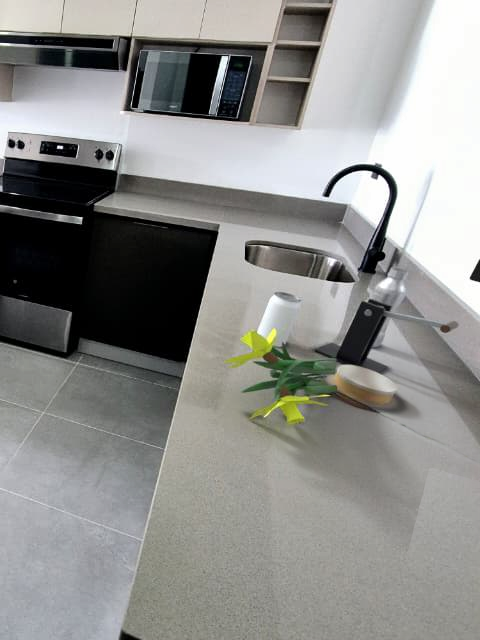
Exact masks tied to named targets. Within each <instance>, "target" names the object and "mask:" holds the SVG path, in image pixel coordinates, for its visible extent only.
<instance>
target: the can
mask: <svg viewBox="0 0 480 640" xmlns="http://www.w3.org/2000/svg"><path fill="white" fill-rule="evenodd" d="M273 293H274V294H273V295H272V296H271V297H270V298H269V301H268V303H267V306H266V307H265V311H264V313H263V316H262V319H261V321H260V323H259V326H258V328H257V331H256V333H258V334H260V335H261V336H263V337H264V338H265V339H266V340H267V338H268V337H269V335H270V333H271V332H272V330H273V329H274V328H275V330H276V335H275V337H274V338H273V340H274V339H275V338H276V337H277V336H278V335H279V334H280V333H281V332H282V331H283V332H282V333H281V334H280V336H279V337H278V338H277V340H276V341H275V343H274V345H273V347H278V348H280V347H281V348H282V342H283V343H284V344H285V345H286V343H287V341H288V339H289V336H290V334H291V332H292V329H293V327H294V325H295V322H296V320H297V317H298V316H299V313H300V310H301V307H302V306H301V305H302V304H301V302H302V299H301V298H300V297H298V296H297V295H294V294H291V293H288V292H283V291H275V292H273ZM291 318H292V319H291ZM290 319H291V320H290ZM288 322H289V323H288ZM287 323H288V324H287ZM285 327H286V328H285ZM273 340H272V341H273Z"/></svg>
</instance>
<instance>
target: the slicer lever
mask: <svg viewBox="0 0 480 640" xmlns="http://www.w3.org/2000/svg"><path fill="white" fill-rule="evenodd" d="M377 306H378V305H377ZM380 307H383V306H380ZM383 308H384V307H383ZM382 316H386V317H390V318H391V319H396V320H399V321H404V322H410V323H415V324H420V325H424V326H427V327H429V326H430V327H434V328H438V329H439V330H440V332H442V333H443V334H447V333H450V332H452V331H453V330H456V329H457V328H458V327H459V322H458V321H455V320H451V321H448V322H444V321H438V320H432V319H428V318H423V317H419V316H415V315H414V316H413V315H408V314H404V313H399V312H389V311H384V313H383V315H382Z"/></svg>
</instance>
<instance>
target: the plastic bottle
mask: <svg viewBox="0 0 480 640" xmlns="http://www.w3.org/2000/svg"><path fill="white" fill-rule="evenodd" d="M409 273H410V272H409V270H406V269H403V268H399V267H394V266H393V267H390V269H389V271H388V273H387V274H386V276H387V277H385V278H383V279H381V280H380V281H378V282H377V283H376V284H375V285H374V287H373V290H372V292H371V296H370V299H373V300H376V301H379V302H382V303H385V304H388V305H391V306H392V308H391V311H390V312H394V313H396V310H397V308H398V307H399V306H400V305H401V303H402V302H403V300H404V298H405V297H406V295H407V289H406V285H405V282H404V281H407V279H408V276H409ZM391 319H392V318H390V317H387V319H386V321H385V323H384V325H383V327H382V329H381V331H380V333H379V335H378V337H377V339H376V341H375V343H374V345H373V347H372V349H373V348H377V347H380V346H381V344H382V343H383V342H384V339H385V336H386V331H387V328H388V326H389V323H390V322H391Z"/></svg>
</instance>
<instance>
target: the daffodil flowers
mask: <svg viewBox="0 0 480 640" xmlns="http://www.w3.org/2000/svg"><path fill="white" fill-rule="evenodd" d="M291 319H292V318H291ZM291 319H290V320H291ZM288 323H289V322H288ZM288 323H287V324H288ZM285 328H286V327H285ZM282 332H283V331H282ZM282 332H281V333H282ZM281 333H280V334H281ZM280 334H279V335H278V336H277V337H276V338H275V339H274V340H273V338H274V337H275V335H276V330H275V328H274V329H273V330H272V332H271V333H270V335H269V337H268V338H267V340H266V339H265V338H264V337H263V336H261V335H260V334H258V333H257V331H256V330H255V329H254V328H251V329H250V331H247V333H245V334H244V335H243V336H242V337H241V338H240V339H239V340H240V342H242V343H244V344H245V345H246V346H248V347H249V348H251V349H252V350H253V351H251V352H248V353H245V354H241V355H239V356H235V357H232V358H228V359H226V360H224V361H222V363H228V364H233V365H232V366H229V367H228V368H226V369H225V371H227V370H230V369H234V368H239V367H241V366H243V365H244V364H246V363H248V362H249V361H252V360H253V361H252V363H253V364H256V365H258V366H261V367H263V368H265V369H269V375H270V377H271V378H272V380H265V381H261V382H258V383H256V384H252V385H251V386H249V387H247V388H245V389H243V390H242V391H240V393H242V394H245V393H246V394H247V393H252V392H258V391H263V390H270V389H274V392H273V400H275V401H274V402H273V403H272V404H270V405H268V406H265V407H263V408H260V409H259V410H256V411H255V412H253V414H252V415H251V417H249V420H251V419H254V418H256V417H258V416H262V415H263V414H265V413H266V414H265V415H264V416H263V418H265V417H267V416H268V415H270V413H271V412H272V411H273V410H275V409H277V408H280V410H281V411H282V413H283V415H284V416H285V417H286V424H287V425H291V426H292V425H296V424H302V423H303V422H305V421H306V419H305V417H304V416H303V415H302V413H301V412H300V411H299V406H298V405H305V404H310V405H313V404H314V405H315V404H316V405H320V406H327V407H328V406H329V404H326V403H323V402H320V401H316V400H311V399H310V398H321V397H330V396H332V397H333V396H334V395H332V394H331V392H338V388H337V386H336V385H334V384H328V383H327V382H326V381H325V380H321V379H327V378H328V376H327V375H334V376H335V374H336V372H337V368H338V364H337V363H338V362H337V361H336V360H337V359H335V358H328V357H320V358H309V359H297V358H294V357H292V356H290V354H289V352H288V349H287V347H286V344H284V343H283V342H282V347H281V351H280V350H278V349H277V348H276V347H275V346H273V345H274V343H275V341H276V340H277V338H278V337H279V336H280ZM272 340H273V341H272ZM255 359H263V361H259V360H256V361H255ZM331 361H333V362H331ZM299 390H301V391H302V390H303V391H304V394H305V396H297V395H296V394H297V391H299ZM317 394H319V395H317ZM328 394H331V395H328ZM306 395H312V396H306Z"/></svg>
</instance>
